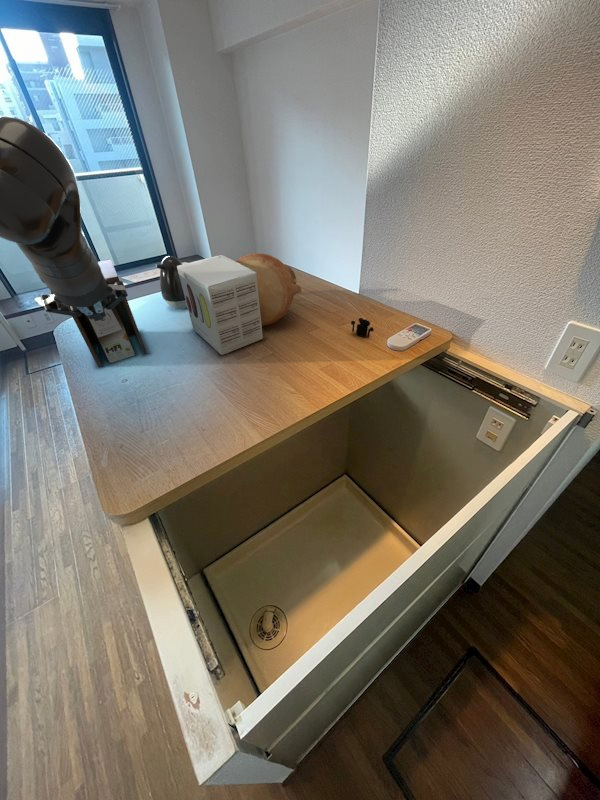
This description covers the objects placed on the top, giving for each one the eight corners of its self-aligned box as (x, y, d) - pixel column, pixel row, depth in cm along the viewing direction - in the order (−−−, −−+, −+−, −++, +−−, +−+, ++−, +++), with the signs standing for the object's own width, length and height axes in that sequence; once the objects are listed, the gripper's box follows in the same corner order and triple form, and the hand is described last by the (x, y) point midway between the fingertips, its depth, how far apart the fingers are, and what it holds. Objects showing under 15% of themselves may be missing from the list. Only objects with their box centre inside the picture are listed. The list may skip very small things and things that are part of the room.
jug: (199, 289, 85) (240, 264, 110) (245, 346, 92) (274, 311, 116) (254, 241, 76) (285, 226, 100) (301, 309, 83) (320, 279, 107)
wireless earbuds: (348, 332, 91) (350, 316, 87) (353, 329, 92) (355, 312, 89) (370, 341, 87) (373, 324, 84) (375, 337, 89) (378, 320, 85)
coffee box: (136, 355, 83) (111, 295, 73) (109, 363, 81) (80, 302, 70) (128, 340, 89) (103, 282, 79) (102, 347, 86) (74, 288, 76)
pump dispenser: (158, 308, 104) (142, 259, 94) (182, 296, 111) (169, 249, 101) (181, 315, 100) (168, 264, 90) (204, 302, 107) (194, 254, 97)
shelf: (98, 367, 80) (26, 228, 59) (93, 343, 88) (29, 214, 68) (147, 353, 84) (96, 219, 64) (138, 332, 92) (91, 208, 72)
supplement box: (191, 330, 93) (174, 265, 81) (232, 316, 99) (222, 254, 87) (221, 356, 82) (206, 286, 70) (264, 338, 88) (257, 271, 77)
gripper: (111, 238, 49) (127, 290, 65) (5, 253, 44) (51, 305, 60) (129, 285, 49) (140, 325, 65) (25, 305, 44) (65, 343, 60)
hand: (97, 315), depth 62 cm, fingers closed
